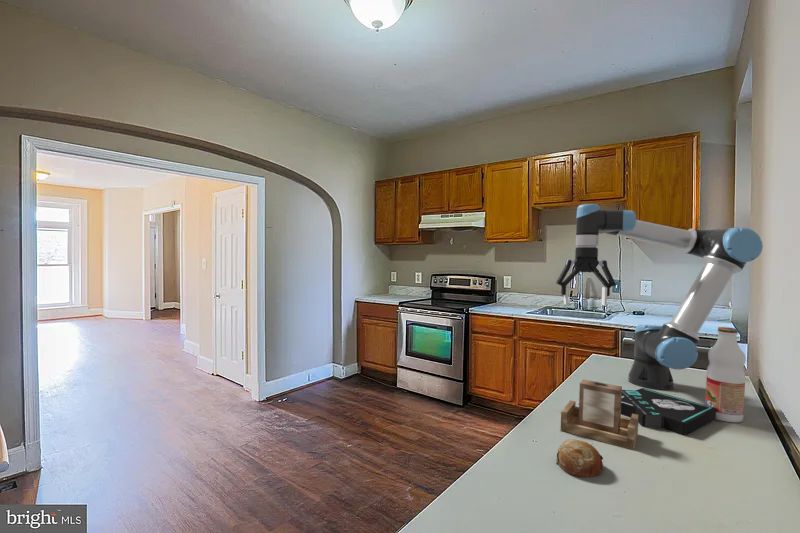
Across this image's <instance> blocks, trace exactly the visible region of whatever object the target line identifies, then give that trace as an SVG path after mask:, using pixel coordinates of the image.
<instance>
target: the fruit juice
mask: <svg viewBox="0 0 800 533" xmlns="http://www.w3.org/2000/svg"><path fill="white" fill-rule="evenodd" d="M717 333H718V337H717V340H716V341H715V344H714V345H713V346H711V348H710V349H709V350H708V353H707V356H708V357H707V358H708V362H709V364H708V366H707V368H706V379H705V380H706V382H705V384H706V385H705V404H704V405H707V406H711V407H714V408H716V420H717V421H723V422H726V423H734V424H735V423H741V422H743V420H744V416H745V414H744V411H745V394H746V373H745V370H744V366H745V364H746V355H745V352H743V350H742V348H740V346H739V343H738V341H737V336H738V334H739V330H738V329H737V328H736V327H735V328H734V327H726V326H718V328H717Z"/></svg>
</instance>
